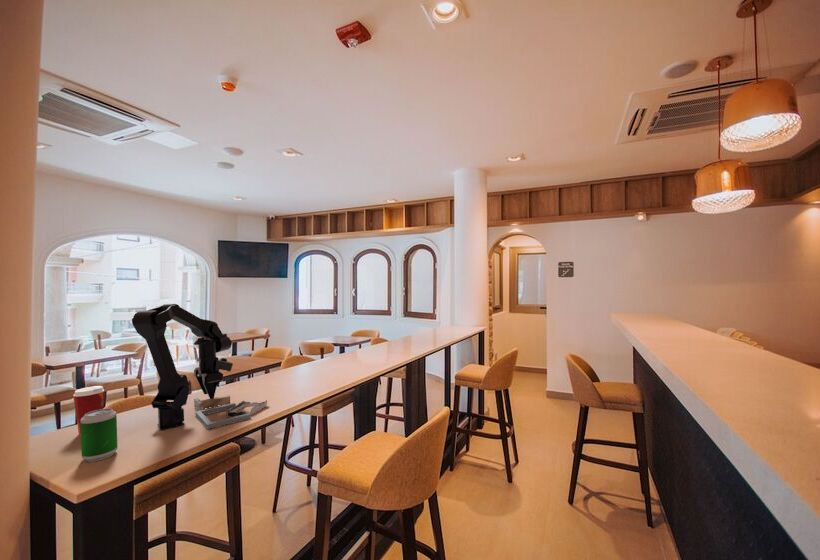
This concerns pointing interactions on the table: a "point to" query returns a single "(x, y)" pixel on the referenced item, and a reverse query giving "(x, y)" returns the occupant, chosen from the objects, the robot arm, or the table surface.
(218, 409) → the tile frame
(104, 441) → the soda can
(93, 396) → the paper cup
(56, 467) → the table surface
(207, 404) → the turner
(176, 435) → the table surface
